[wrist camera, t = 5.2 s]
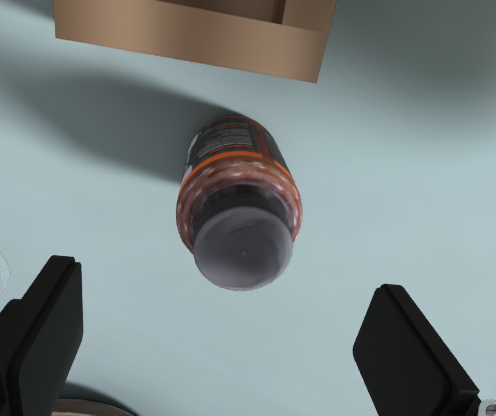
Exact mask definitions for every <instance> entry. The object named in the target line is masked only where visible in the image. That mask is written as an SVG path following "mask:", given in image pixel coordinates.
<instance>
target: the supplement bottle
mask: <svg viewBox="0 0 496 416" xmlns="http://www.w3.org/2000/svg"><path fill="white" fill-rule="evenodd" d="M176 223H177V228H178V231H179V234H180V237H181V239H182V242H183V243H184V244H185V246H186V247H187V248H188V249H189V251H190V252H191V253H192V254H193V255H194V259H195V263H196V265H197V267H198V269H199V270H200V272H201V273H202V274H203V276H204V277H205V278H207V279H208V280H209V281H210V282H212V283H213V284H215V285H217V286H219V287H222V288H225V289H229V290H233V291H248V290H254V289H257V288H260V287H263V286H265V285H267V284H269V283H271V282H273V281H274V280H275V279H277V278H278V277H279V276H280V275H281V274H282V273H283V272H284V270H285V269H286V267H287V266H288V264H289V262H290V259H291V257H292V250H293V242H294V241H295V239H296V237H297V236H298V233H299V230H300V227H301V223H302V204H301V199H300V195H299V191H298V189H297V187H296V185H295V181H294V180H293V178H292V176H291V174H290V171H289V169H288V167H287V165H286V163H285V161H284V159H283V157H282V155H281V153H280V151H279V148H278V146H277V144H276V142H275V140H274V139H273V137H272V136H271V134H270V133H269V132H268V131H267V130H266V129H265V128H264V127H263V126H262V125H261V124H259V123H258V122H256V121H254V120H252V119H250V118H247V117H243V116H235V115H234V116H224V117H220V118H217V119H215V120H212V121H210V122H209V123H207V124H206V125H205V126H203V127H202V128H201V129H200V130H199V132H198V133H197V134H196V135H195V137H194V139H193V141H192V143H191V145H190V148H189V151H188V155H187V160H186V163H185V169H184V173H183V178H182V181H181V186H180V191H179V195H178V200H177V206H176Z"/></svg>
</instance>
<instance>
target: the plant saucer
mask: <svg viewBox="0 0 496 416" xmlns="http://www.w3.org/2000/svg"><path fill="white" fill-rule="evenodd" d="M51 416H134V415H132V414H130V413H128V412H126V411H124V410H122V409H119V408H117V407H114V406H111V405H108V404H104V403H99V402H95V401H88V400H80V399H58V400H57V403H56V405H55V407H54V410H53V412H52V415H51Z"/></svg>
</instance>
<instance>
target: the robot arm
mask: <svg viewBox="0 0 496 416" xmlns="http://www.w3.org/2000/svg"><path fill="white" fill-rule="evenodd" d="M82 337H83V305H82V272H81V263H80V262H75V259H74V257H68V256H57V255H53V256H51V257H50V259H49V260H48V261H47V263H46V264H45V266H44V267H43V269H42V270H41V271H40V273H39V274H38V276H37V277H36V279H35V280H34V282H33V283H32V284H31V286H30V287H29V289H28V290H27V292H26V293H25V294H24V296H23V297H22V299H12V300H10V301H9V302H8V303H7V304H6V306H5V307H4V308H3V310H2V311H1V312H0V416H51V415H52V412H53V410H54V407H55V405H56V403H57V400H58V398H59V395H60V393H61V390H62V388H63V386H64V383H65V381H66V378H67V376H68V373H69V371H70V368H71V366H72V364H73V361H74V359H75V356H76V354H77V351H78V349H79V347H80V344H81V341H82ZM353 357H354V359H355V362H356V364H357V366H358V369H359V371H360V373H361V376H362V378H363V380H364V383H365V385H366V387H367V390H368V392H369V394H370V397H371V399H372V401H373V403H374V406H375V408H376V410H377V413H378V415H379V416H496V400H494V399H487V400H484V401H481V400H480V399H479V397H478V396H477V395H478V393H479V392H480V390H479V389H478V388H477V386H476V385H475V384H474V382H473V381H472V380H471V378H470V377H469V375H468V374H467V373H466V371H465V370H464V369H463V367H462V366H461V365H460V363H459V362H458V361H457V359H456V358H455V357H454V355H453V354H452V352H451V351H450V350H449V348H448V347H447V346H446V344H445V343H444V342H443V340H442V339H441V338H440V336H439V335H438V334H437V332H436V331H435V329H434V328H433V327H432V325H431V324H430V323H429V321H428V320H427V319H426V317H425V316H424V315H423V313H422V312H421V310H420V309H419V308H418V306H417V305H416V304H415V302H414V301H413V300H412V298H411V297H410V296H409V294H408V293H407V292H406V290H405V289H404V288H403V287H402V286H401V285H393V284H383V285H381V287H380V288H377V289H376V290H375V292H374V295H373V298H372V300H371V303H370V305H369V308H368V310H367V313H366V315H365V318H364V320H363V323H362V325H361V328H360V330H359V333H358V335H357V338H356V340H355V343H354V346H353Z"/></svg>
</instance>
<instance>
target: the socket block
mask: <svg viewBox="0 0 496 416" xmlns="http://www.w3.org/2000/svg"><path fill="white" fill-rule="evenodd" d="M335 4H336V0H54V17H55V36H56V38H59V39H65V40H70V41H76V42H82V43H88V44H93V45H99V46H105V47H111V48H116V49H122V50H128V51H134V52H139V53H145V54H151V55H156V56H162V57H168V58H174V59H179V60H185V61H191V62H197V63H202V64H208V65H214V66H220V67H225V68H231V69H237V70H243V71H248V72H254V73H260V74H265V75H271V76H277V77H283V78H288V79H294V80H300V81H306V82H311V83H317V79H318V75H319V71H320V67H321V63H322V58H323V54H324V50H325V46H326V42H327V38H328V33H329V29H330V25H331V21H332V17H333V13H334V8H335Z"/></svg>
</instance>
